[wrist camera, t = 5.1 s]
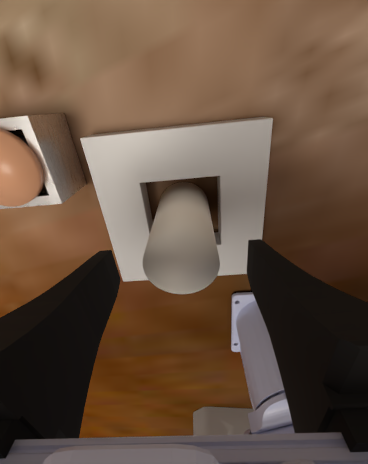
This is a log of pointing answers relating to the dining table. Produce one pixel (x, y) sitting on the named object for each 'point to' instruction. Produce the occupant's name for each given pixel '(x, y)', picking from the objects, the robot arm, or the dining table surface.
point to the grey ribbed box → (221, 421)
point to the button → (18, 171)
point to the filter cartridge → (182, 242)
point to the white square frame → (182, 167)
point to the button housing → (50, 156)
